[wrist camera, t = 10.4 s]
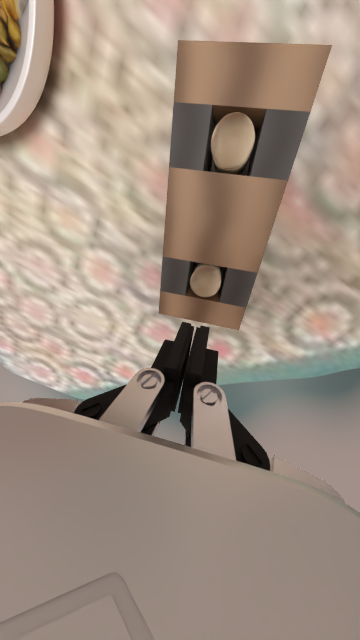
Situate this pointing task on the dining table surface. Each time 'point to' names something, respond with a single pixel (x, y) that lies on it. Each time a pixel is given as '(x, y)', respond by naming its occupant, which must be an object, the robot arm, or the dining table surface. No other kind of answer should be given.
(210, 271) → the beech peg
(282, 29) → the dining table surface
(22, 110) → the bowl
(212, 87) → the banded wooden block
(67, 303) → the dining table surface
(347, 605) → the robot arm
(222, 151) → the beech peg
